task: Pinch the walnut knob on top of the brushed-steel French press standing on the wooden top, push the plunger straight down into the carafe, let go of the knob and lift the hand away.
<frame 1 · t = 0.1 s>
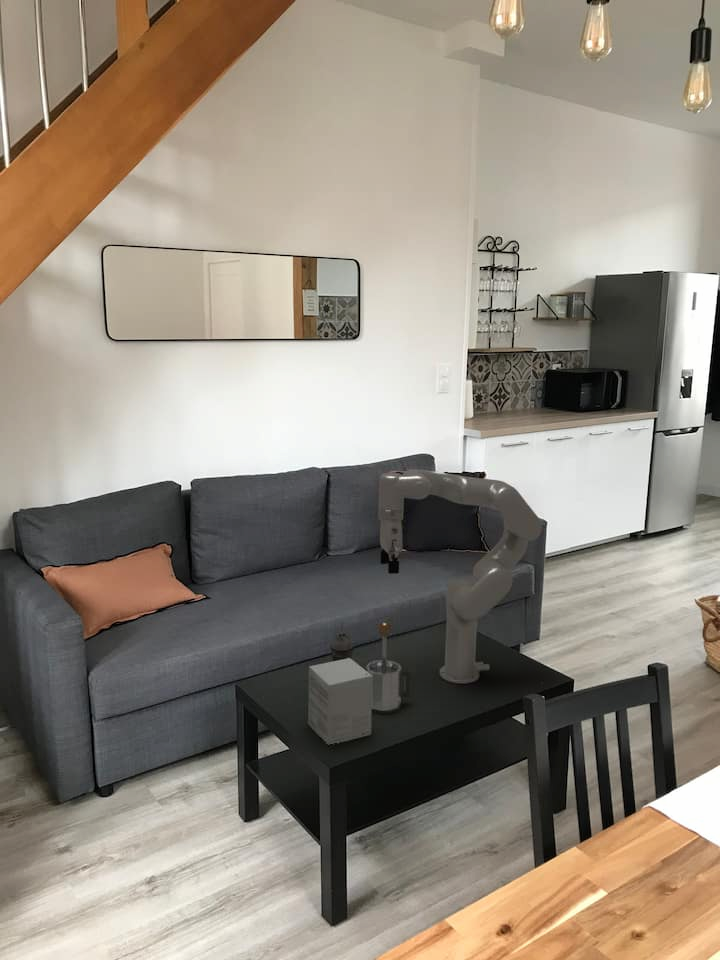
hand: (389, 568, 238), 37 cm above the table, tool pointing down, fingers open, 9 cm apart
supplement box: (339, 730, 214), on the table
plunger: (384, 648, 225), point 18 cm above the table, slide at 0.0 cm
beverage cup: (341, 682, 243), on the table
carafe: (382, 705, 228), on the table
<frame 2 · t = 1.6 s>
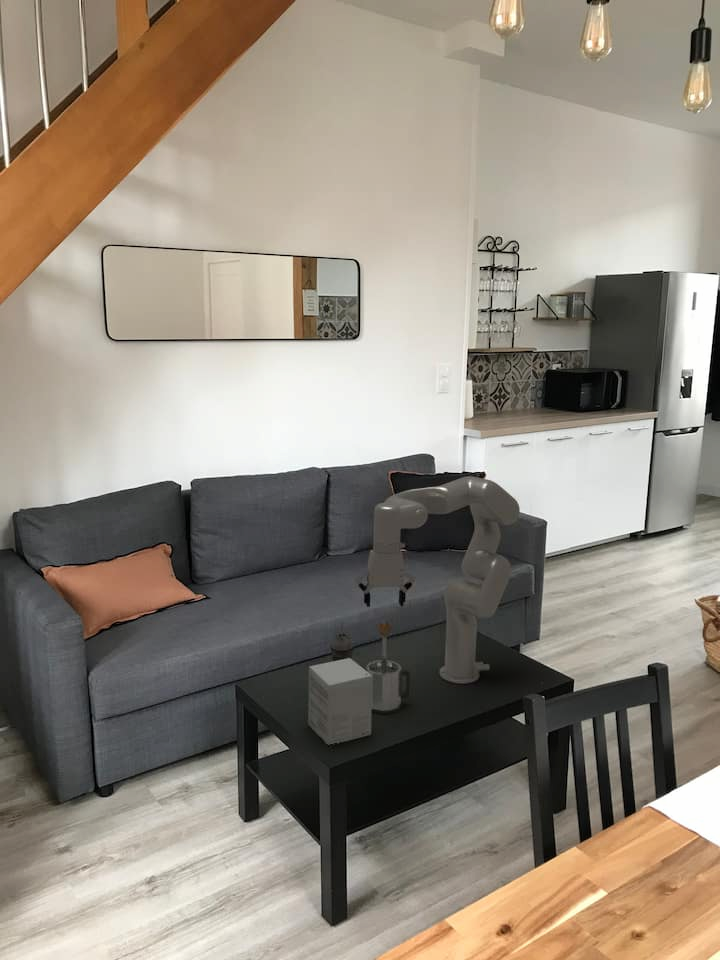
hand: (384, 605, 222), 31 cm above the table, tool pointing down, fingers open, 9 cm apart
nothing on the table moved.
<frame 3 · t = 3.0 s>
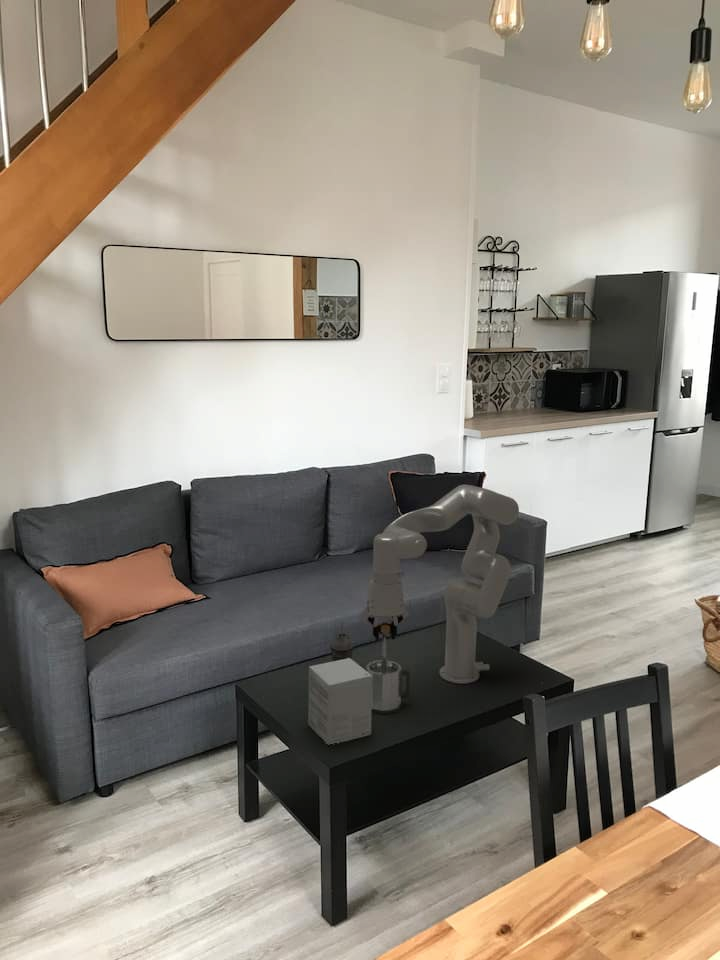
hand: (384, 637, 224), 21 cm above the table, tool pointing down, fingers closed on plunger, 4 cm apart
plunger: (384, 648, 225), point 18 cm above the table, slide at 0.0 cm, touching gripper
everything else where it was.
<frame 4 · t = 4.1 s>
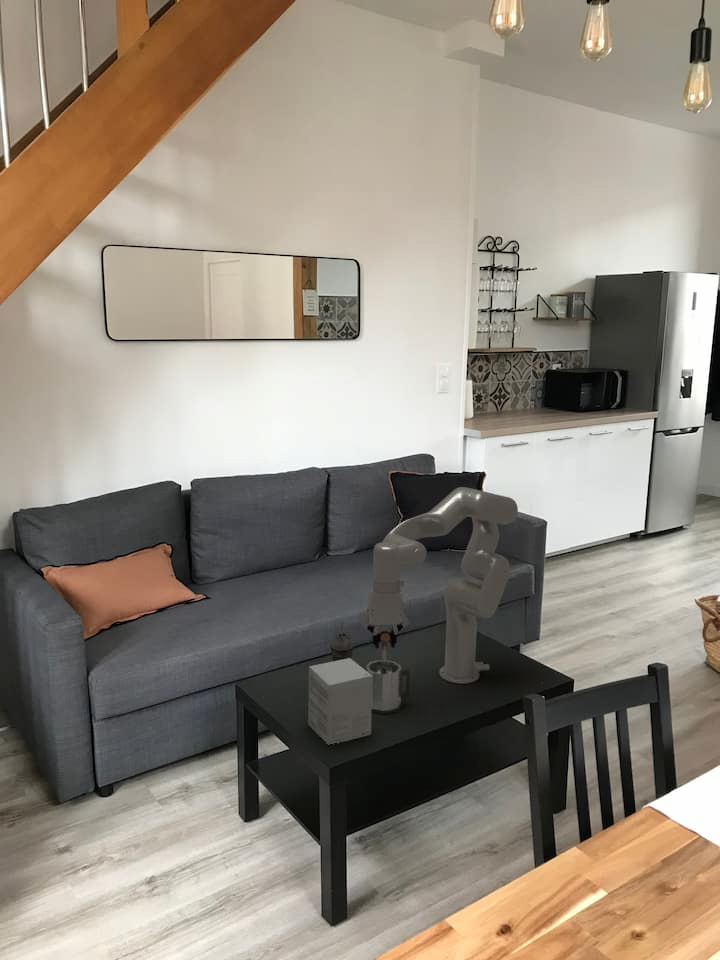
hand: (384, 645, 224), 19 cm above the table, tool pointing down, fingers closed on plunger, 4 cm apart
plunger: (384, 657, 225), point 15 cm above the table, slide at 2.6 cm, touching gripper
everything else where it was.
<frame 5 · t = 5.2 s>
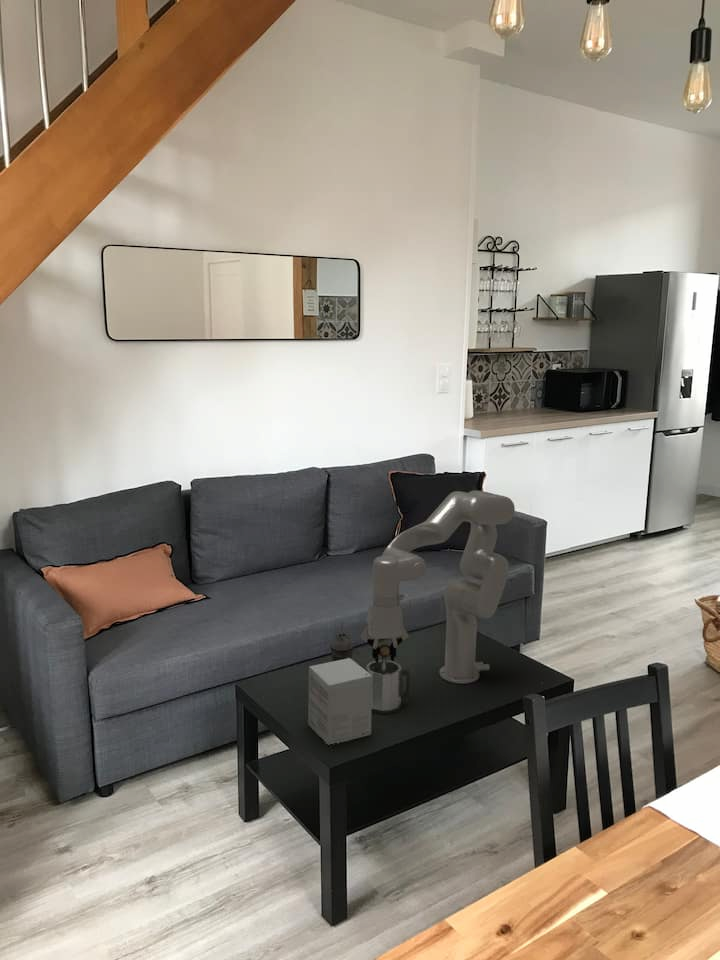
hand: (384, 659, 225), 15 cm above the table, tool pointing down, fingers closed on plunger, 4 cm apart
plunger: (383, 670, 226), point 11 cm above the table, slide at 6.7 cm, touching gripper
everything else where it was.
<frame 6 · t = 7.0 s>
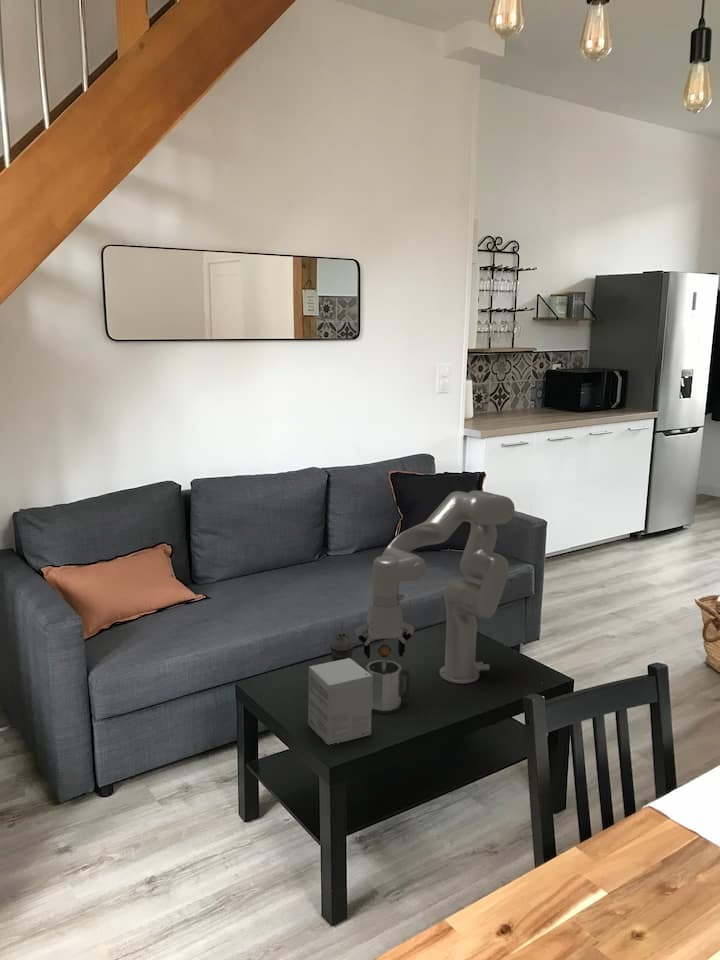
hand: (384, 655, 225), 16 cm above the table, tool pointing down, fingers open, 9 cm apart
plunger: (383, 670, 226), point 11 cm above the table, slide at 6.7 cm
everything else where it was.
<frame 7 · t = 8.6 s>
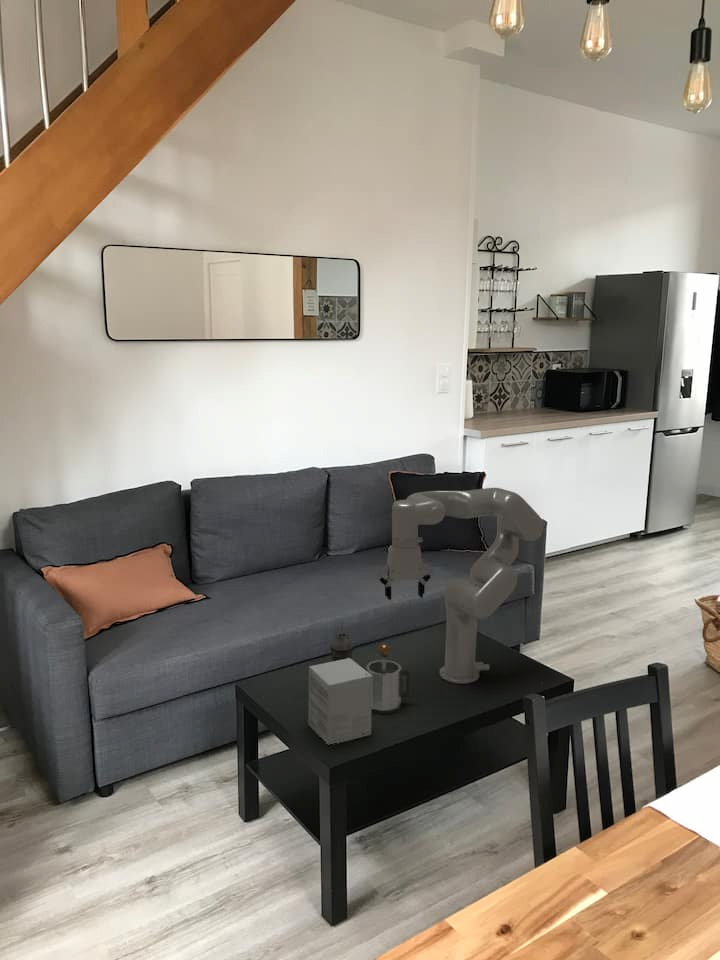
hand: (404, 597, 232), 30 cm above the table, tool pointing down, fingers open, 9 cm apart
nothing on the table moved.
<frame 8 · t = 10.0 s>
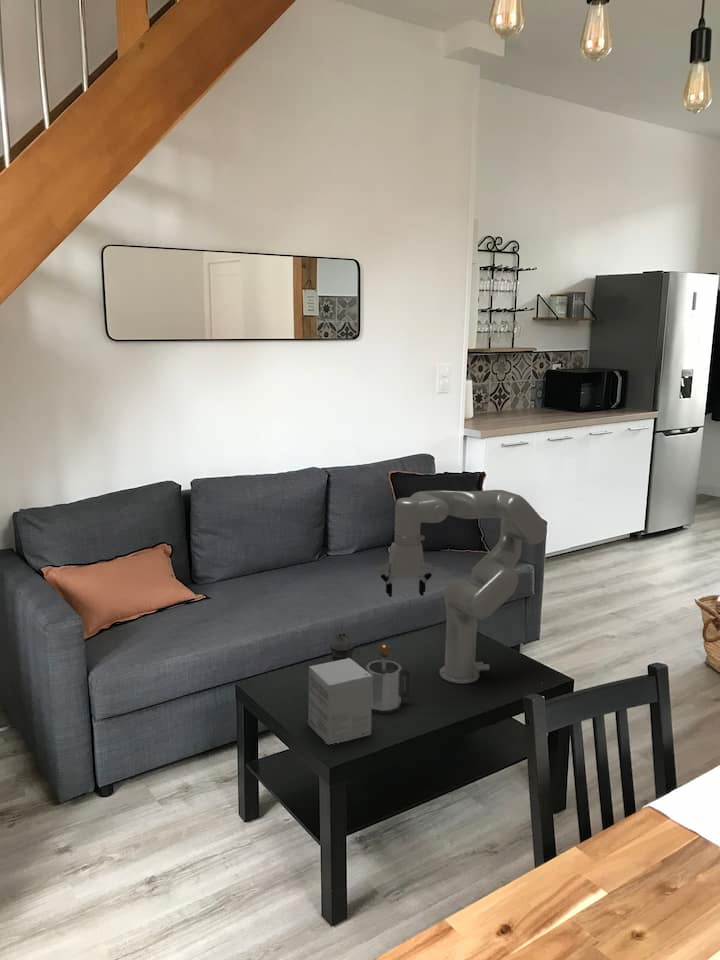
hand: (405, 594, 233), 30 cm above the table, tool pointing down, fingers open, 9 cm apart
nothing on the table moved.
at the end: plunger slide at 6.7 cm; the gripper is holding nothing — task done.
